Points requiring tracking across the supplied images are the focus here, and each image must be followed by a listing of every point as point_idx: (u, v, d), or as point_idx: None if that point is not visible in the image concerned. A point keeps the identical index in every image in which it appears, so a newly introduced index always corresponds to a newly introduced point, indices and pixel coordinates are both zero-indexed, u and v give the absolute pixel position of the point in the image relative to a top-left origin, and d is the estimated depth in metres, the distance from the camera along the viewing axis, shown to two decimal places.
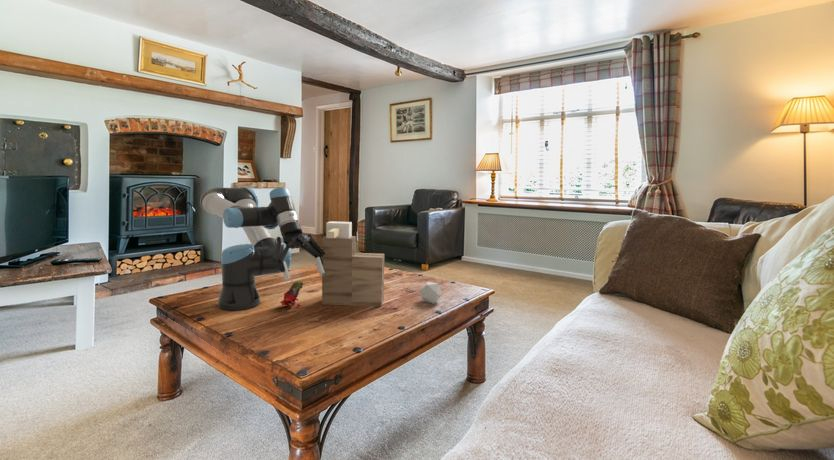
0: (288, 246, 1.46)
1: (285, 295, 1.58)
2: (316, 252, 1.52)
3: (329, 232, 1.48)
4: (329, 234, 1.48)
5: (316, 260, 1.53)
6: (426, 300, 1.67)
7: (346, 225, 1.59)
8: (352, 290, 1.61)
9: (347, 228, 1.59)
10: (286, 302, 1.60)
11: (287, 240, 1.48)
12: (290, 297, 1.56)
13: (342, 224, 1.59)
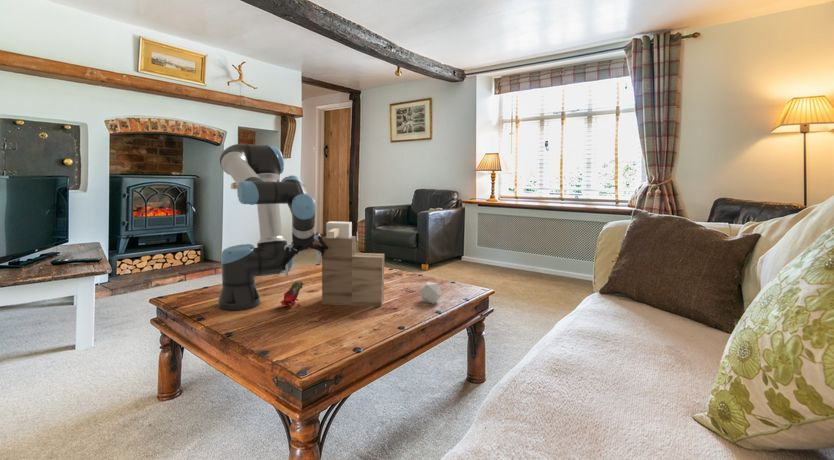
0: None
1: (285, 295, 1.58)
2: (320, 250, 1.55)
3: (329, 232, 1.48)
4: (329, 234, 1.48)
5: (317, 251, 1.57)
6: (426, 300, 1.67)
7: (346, 225, 1.59)
8: (352, 290, 1.61)
9: (347, 228, 1.59)
10: (286, 302, 1.60)
11: (295, 248, 1.45)
12: (290, 297, 1.56)
13: (342, 224, 1.59)
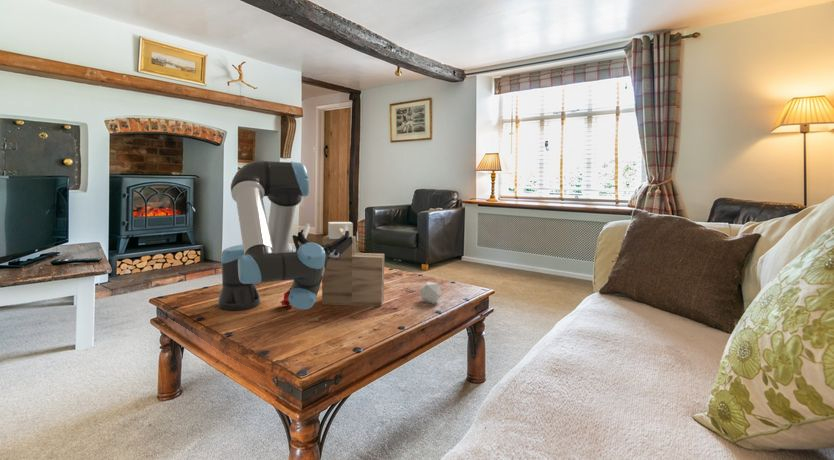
0: None
1: (285, 295, 1.58)
2: None
3: None
4: None
5: None
6: (426, 300, 1.67)
7: (350, 225, 1.59)
8: (352, 290, 1.61)
9: (351, 228, 1.60)
10: (286, 302, 1.60)
11: None
12: None
13: None
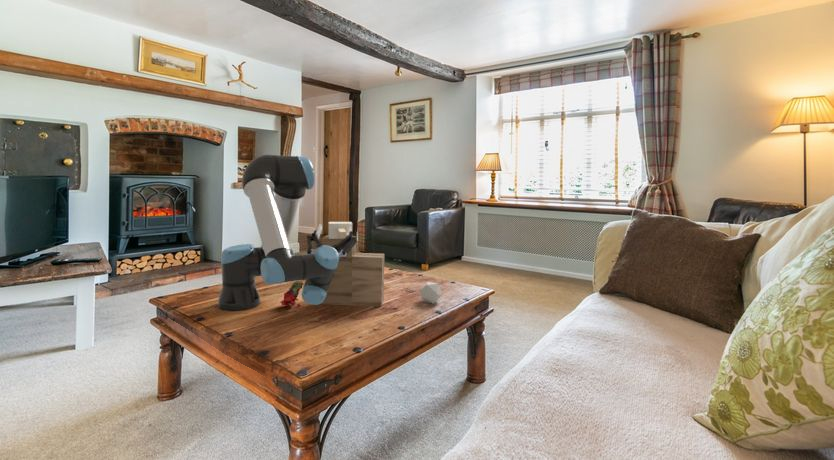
0: None
1: (285, 295, 1.58)
2: None
3: (341, 233, 1.48)
4: (341, 235, 1.48)
5: None
6: (426, 300, 1.67)
7: None
8: (352, 290, 1.61)
9: None
10: (286, 302, 1.60)
11: None
12: (290, 297, 1.56)
13: (345, 224, 1.59)
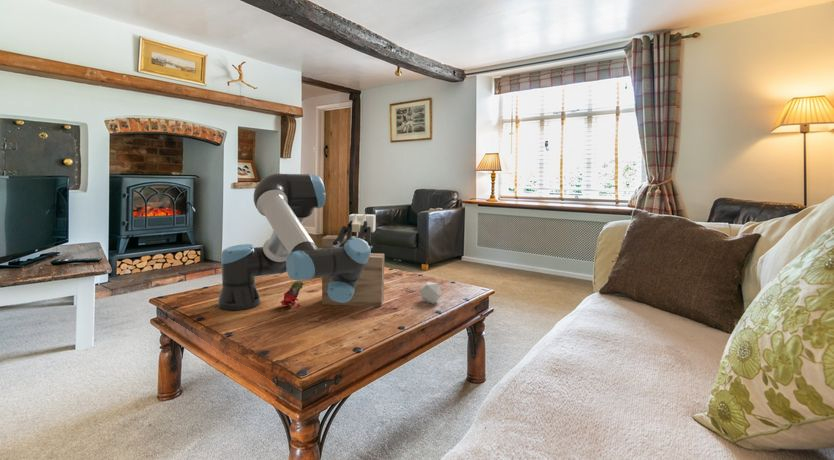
0: None
1: (285, 295, 1.58)
2: None
3: (353, 225, 1.37)
4: (353, 227, 1.37)
5: None
6: (426, 300, 1.67)
7: (370, 218, 1.48)
8: None
9: (371, 221, 1.48)
10: (286, 302, 1.60)
11: None
12: (290, 297, 1.56)
13: (366, 217, 1.48)
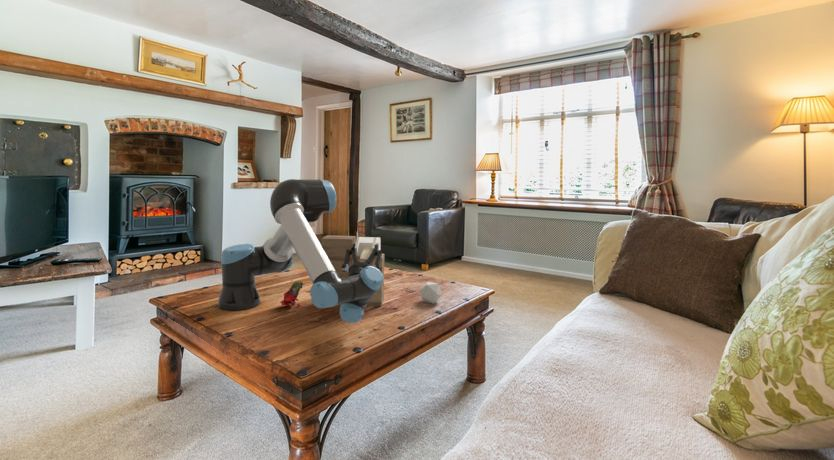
0: None
1: (285, 295, 1.58)
2: None
3: (361, 259, 1.49)
4: (361, 261, 1.49)
5: (372, 249, 1.52)
6: (426, 300, 1.67)
7: None
8: None
9: None
10: (286, 302, 1.60)
11: None
12: (290, 297, 1.56)
13: (372, 243, 1.58)
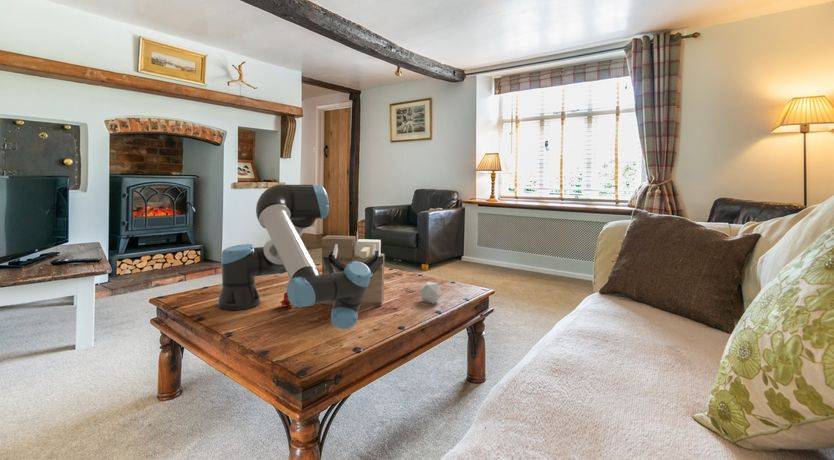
0: None
1: (285, 295, 1.58)
2: None
3: (361, 252, 1.49)
4: (361, 254, 1.49)
5: None
6: (426, 300, 1.67)
7: (376, 243, 1.59)
8: None
9: (377, 246, 1.60)
10: (286, 302, 1.60)
11: None
12: None
13: (372, 243, 1.59)
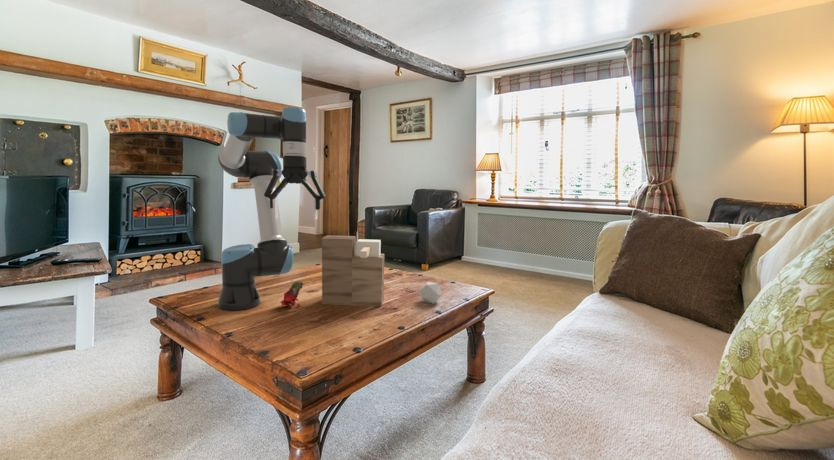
0: (282, 182, 1.34)
1: (285, 295, 1.58)
2: (313, 194, 1.35)
3: (361, 252, 1.49)
4: (361, 254, 1.49)
5: None
6: (426, 300, 1.67)
7: (376, 243, 1.59)
8: (352, 290, 1.61)
9: (377, 246, 1.60)
10: (286, 302, 1.60)
11: (284, 175, 1.34)
12: (290, 297, 1.56)
13: (372, 243, 1.59)
